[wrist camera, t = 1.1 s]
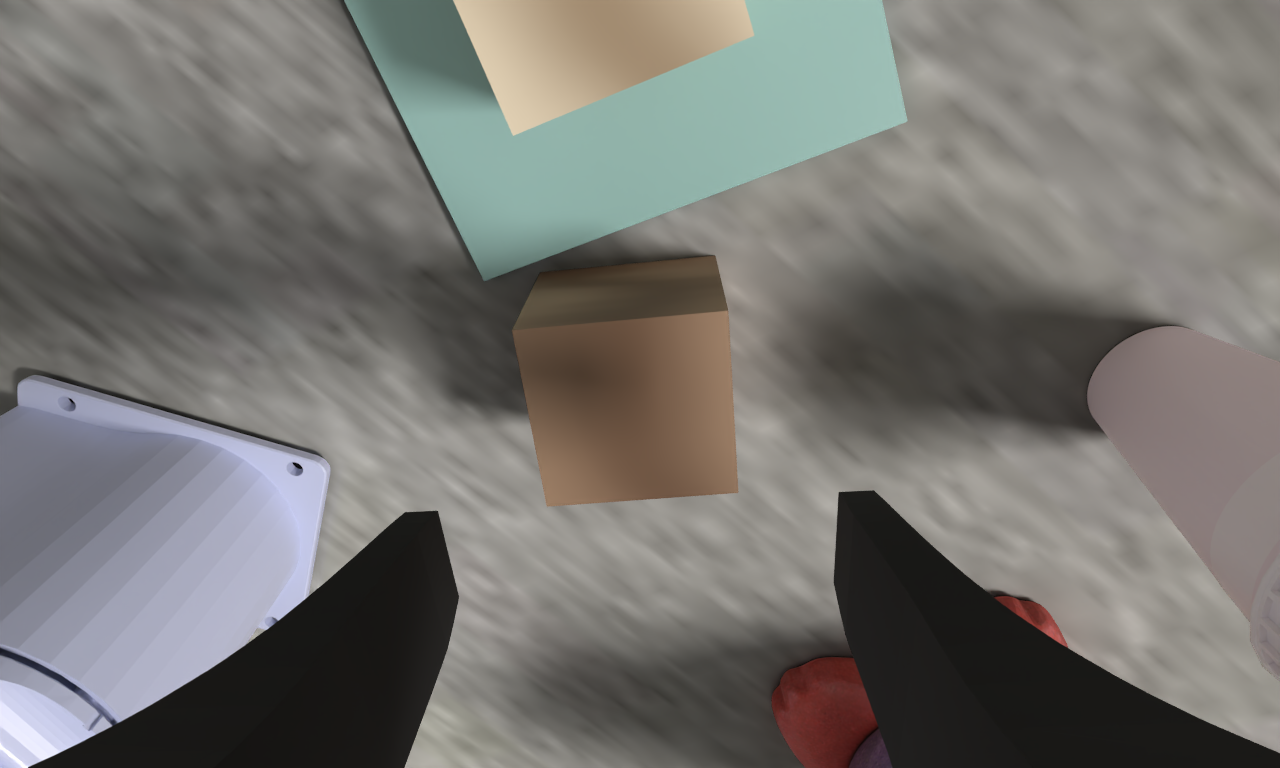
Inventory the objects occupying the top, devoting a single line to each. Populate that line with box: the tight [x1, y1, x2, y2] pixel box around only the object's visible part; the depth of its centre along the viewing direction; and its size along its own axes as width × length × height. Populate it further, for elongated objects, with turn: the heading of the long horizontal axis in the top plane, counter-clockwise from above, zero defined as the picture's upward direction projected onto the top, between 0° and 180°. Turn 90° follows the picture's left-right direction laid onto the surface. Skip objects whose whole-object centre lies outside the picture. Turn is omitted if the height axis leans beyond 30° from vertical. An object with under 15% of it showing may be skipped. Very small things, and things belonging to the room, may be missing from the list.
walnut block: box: [512, 256, 738, 506], centre depth 20 cm, size 5×5×4 cm
